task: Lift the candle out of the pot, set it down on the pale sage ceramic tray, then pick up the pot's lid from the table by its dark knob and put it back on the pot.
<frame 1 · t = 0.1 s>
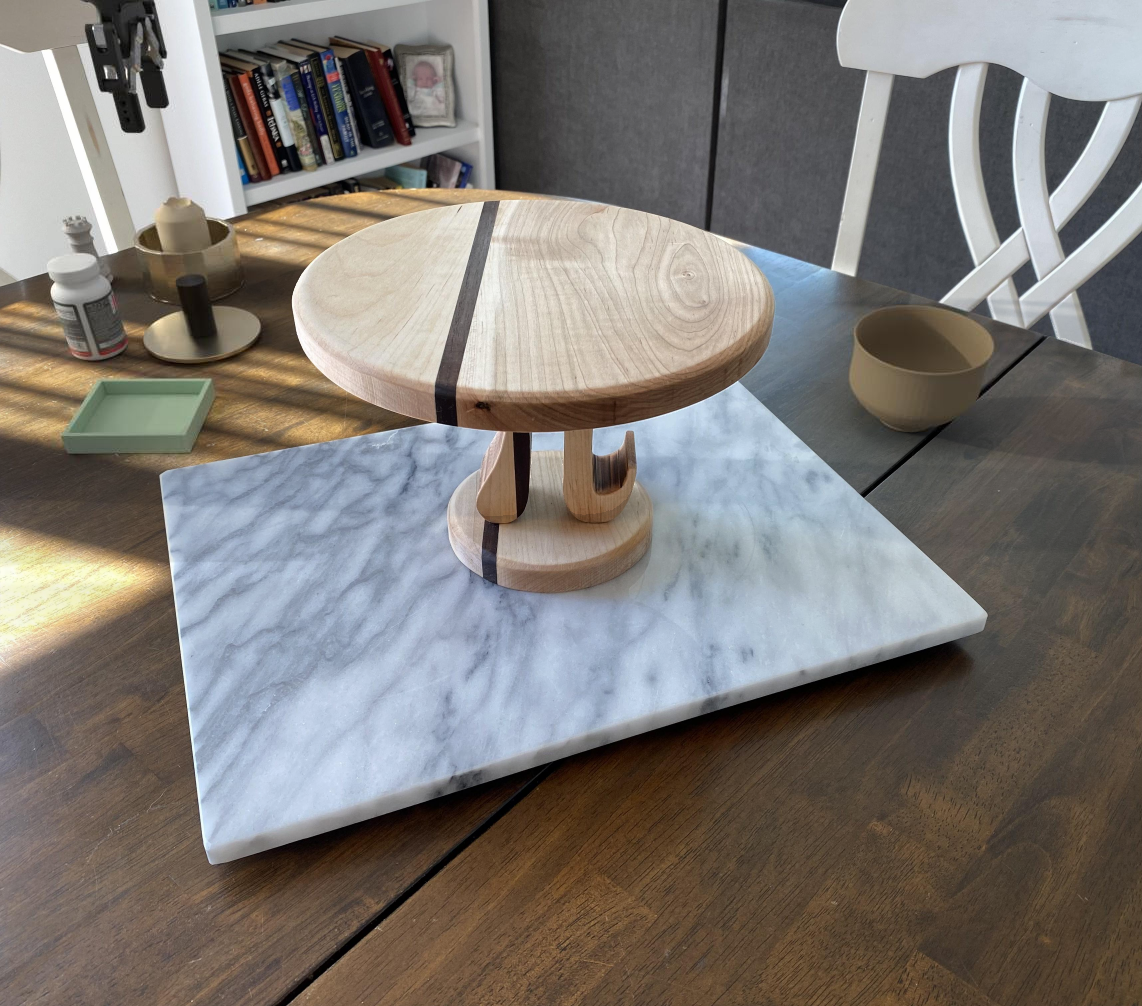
hand: (147, 119, 99), 20 cm above the table, tool pointing down, fingers open, 8 cm apart
pot: (196, 284, 113), on the table
rook chess piece: (95, 285, 113), on the table
bowl: (898, 423, 94), on the table
candle: (195, 283, 113), resting on pot
pill bottle: (101, 350, 101), on the table
lid: (203, 335, 102), point 1 cm above the table
tray: (145, 423, 90), on the table
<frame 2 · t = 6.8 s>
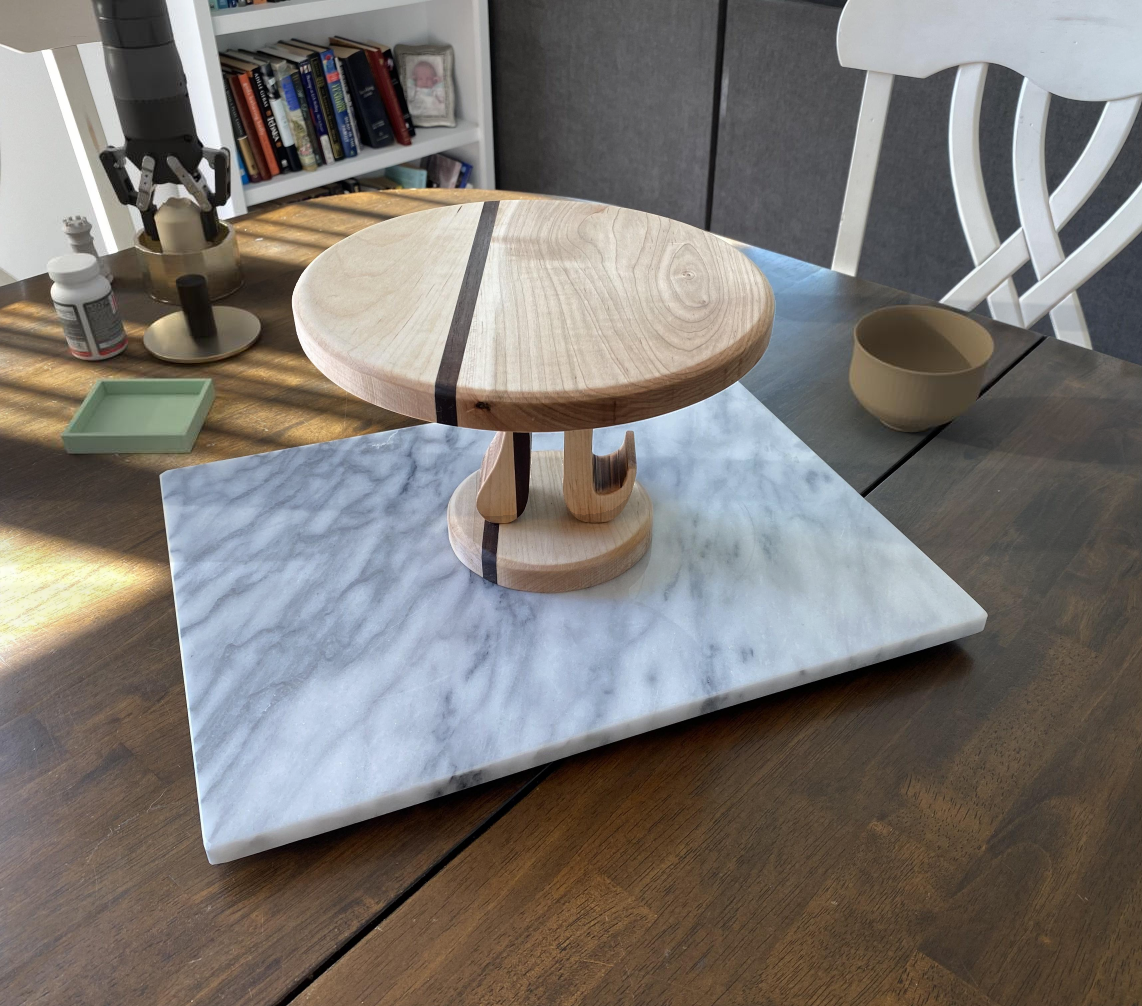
hand: (185, 238, 110), 6 cm above the table, tool pointing down, fingers closed on candle, 5 cm apart
candle: (195, 283, 113), resting on pot, touching gripper
everything else where it was.
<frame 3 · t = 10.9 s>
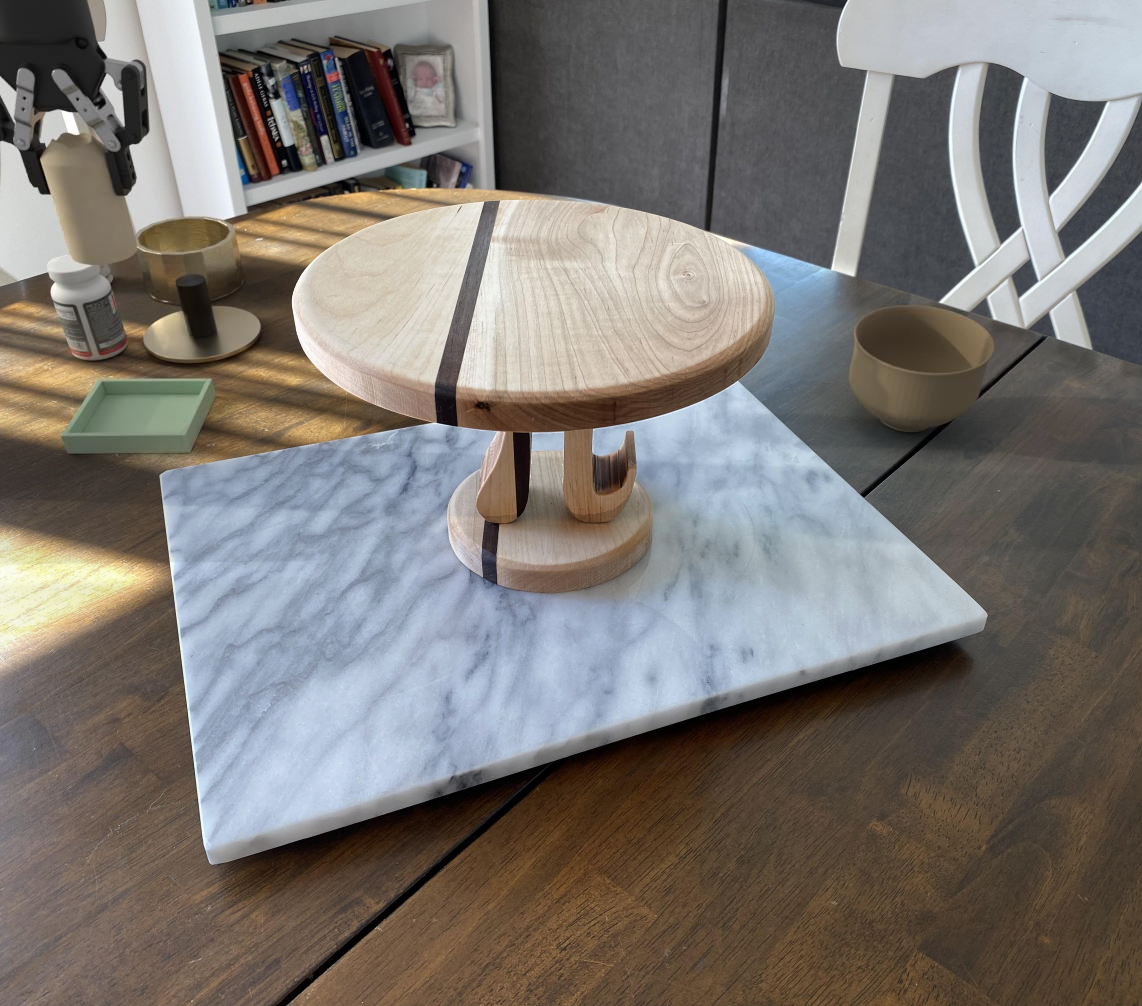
hand: (87, 191, 79), 21 cm above the table, tool pointing down, fingers closed on candle, 5 cm apart
candle: (105, 255, 83), point 16 cm above the table, touching gripper
everything else where it was.
when the fingers open (6 cm above the table, at t = 15.1 s): candle stays where it is, resting on tray.
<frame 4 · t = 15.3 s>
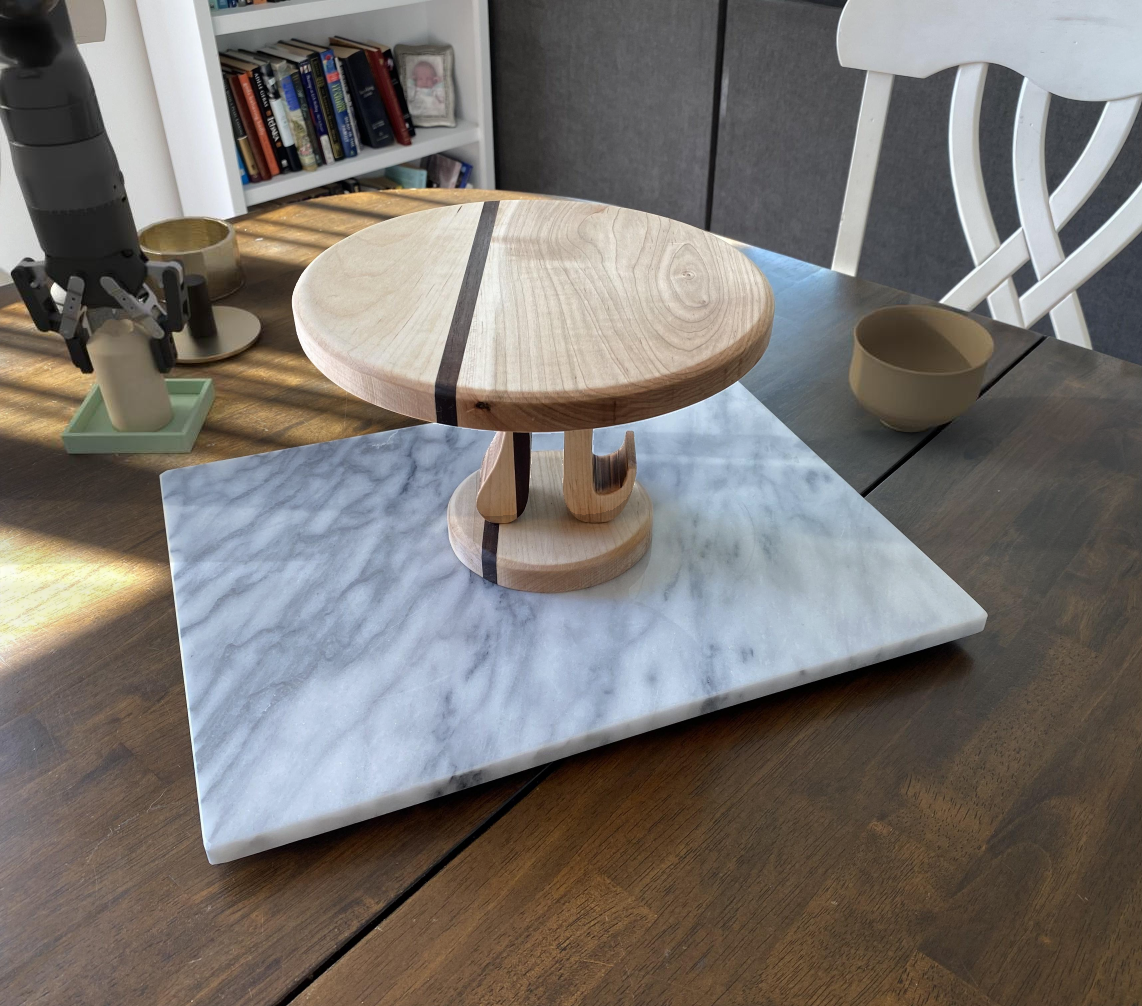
hand: (129, 369, 86), 6 cm above the table, tool pointing down, fingers open, 6 cm apart
candle: (144, 421, 89), resting on tray
everything else where it was.
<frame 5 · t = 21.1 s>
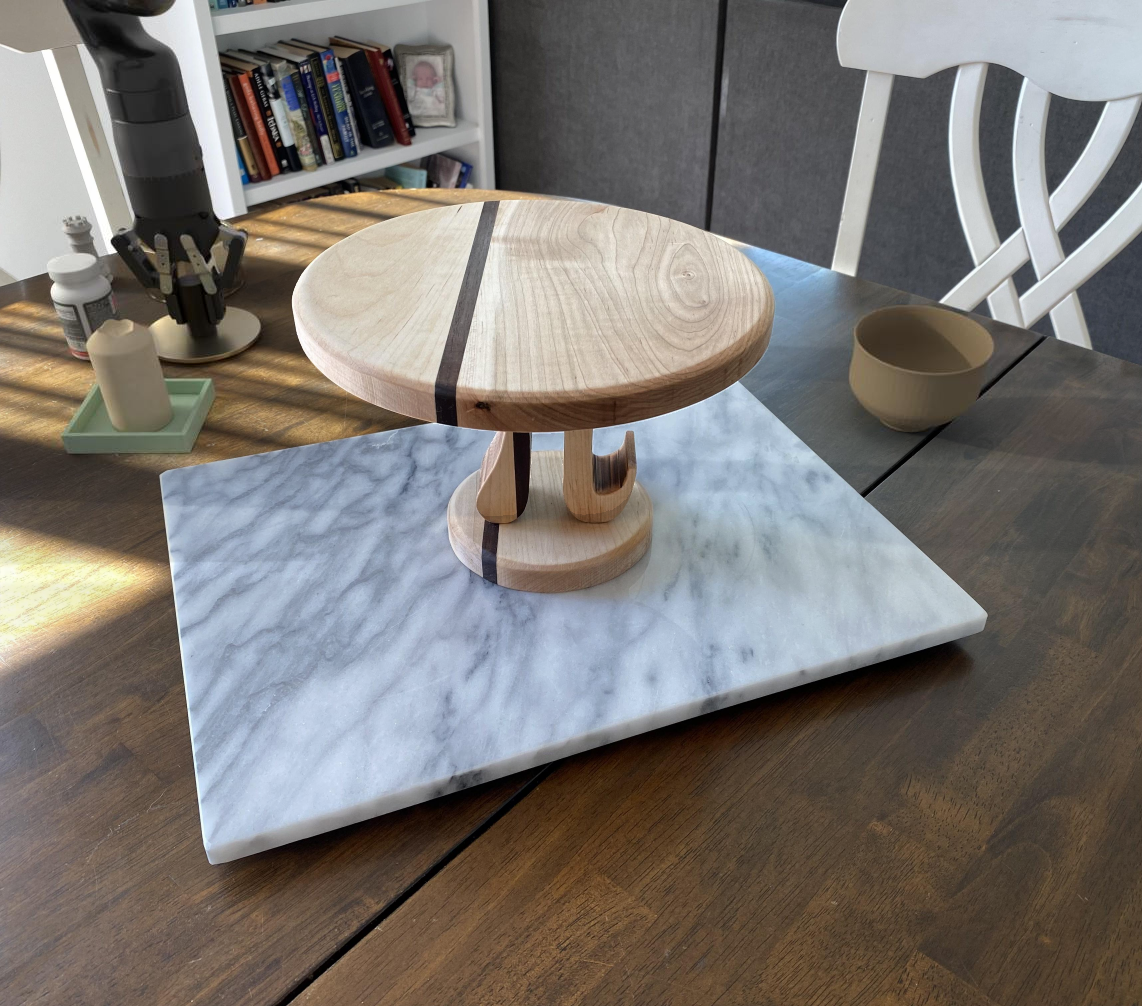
hand: (200, 320, 101), 2 cm above the table, tool pointing down, fingers closed on lid, 3 cm apart
lid: (203, 335, 102), point 1 cm above the table, touching gripper
everything else where it was.
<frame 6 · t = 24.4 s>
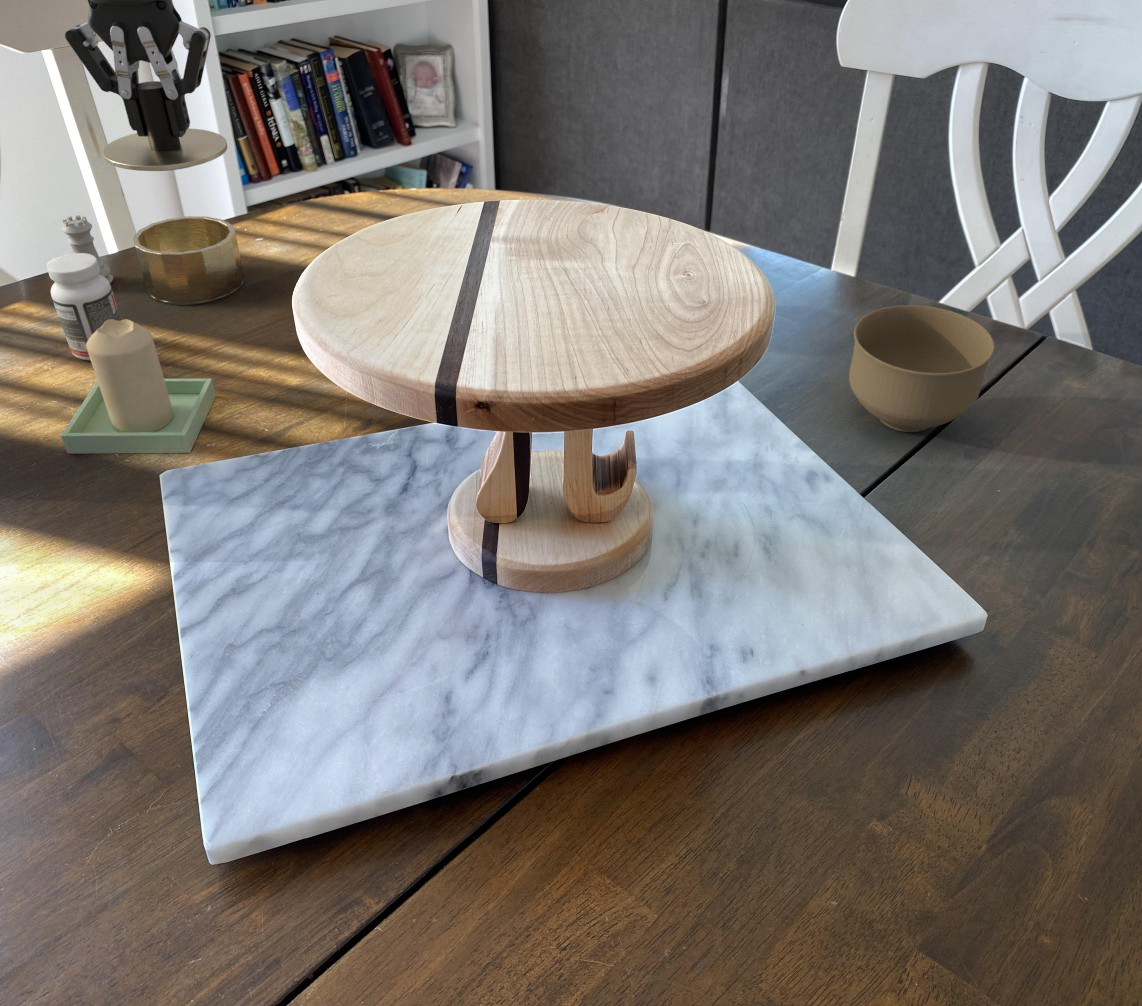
hand: (162, 133, 97), 20 cm above the table, tool pointing down, fingers closed on lid, 3 cm apart
lid: (166, 150, 98), point 18 cm above the table, touching gripper
everything else where it was.
when the fingers open (8 cm above the table, at t = 27.9 s): lid stays where it is, resting on pot.
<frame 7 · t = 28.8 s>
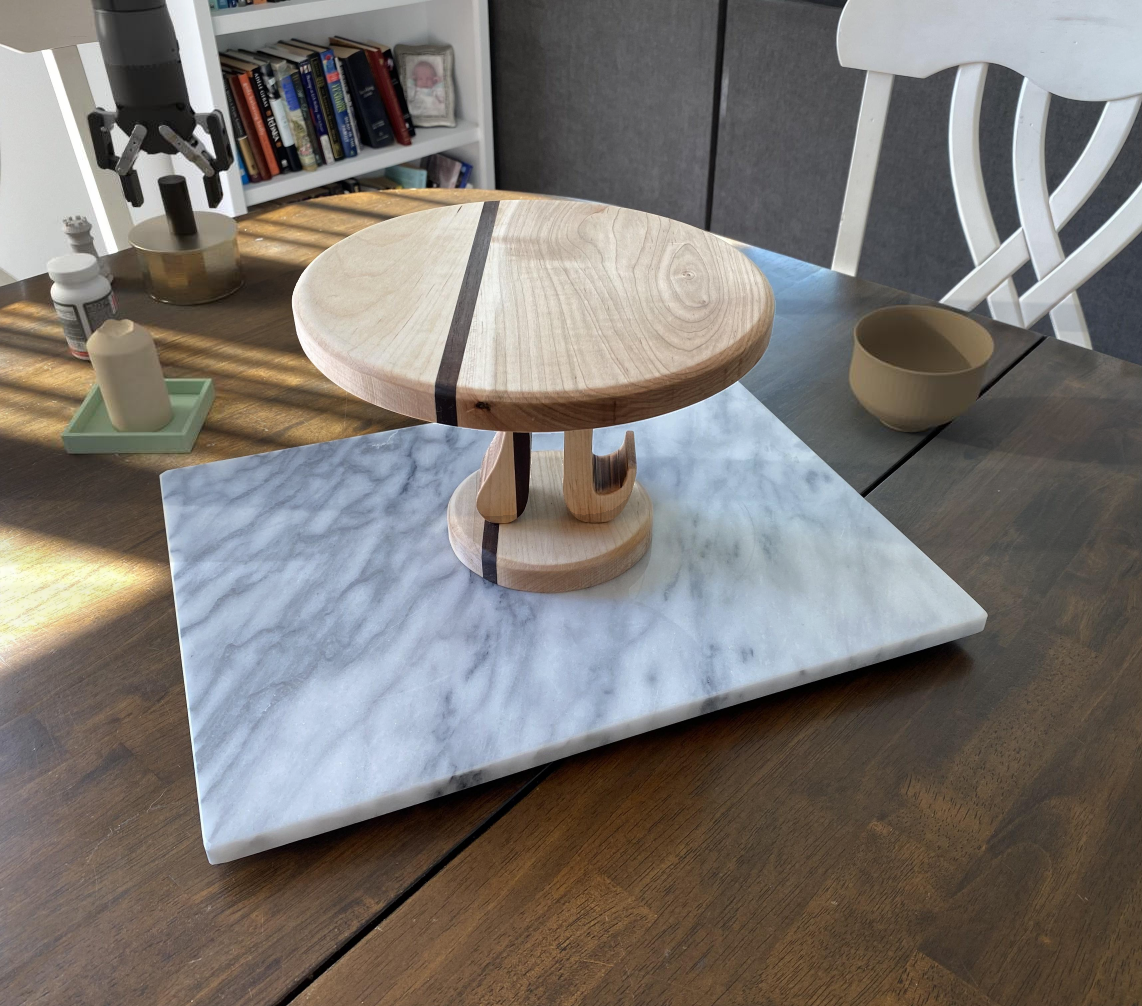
hand: (177, 205, 107), 10 cm above the table, tool pointing down, fingers open, 8 cm apart
lid: (184, 234, 109), point 6 cm above the table, touching pot
everything else where it was.
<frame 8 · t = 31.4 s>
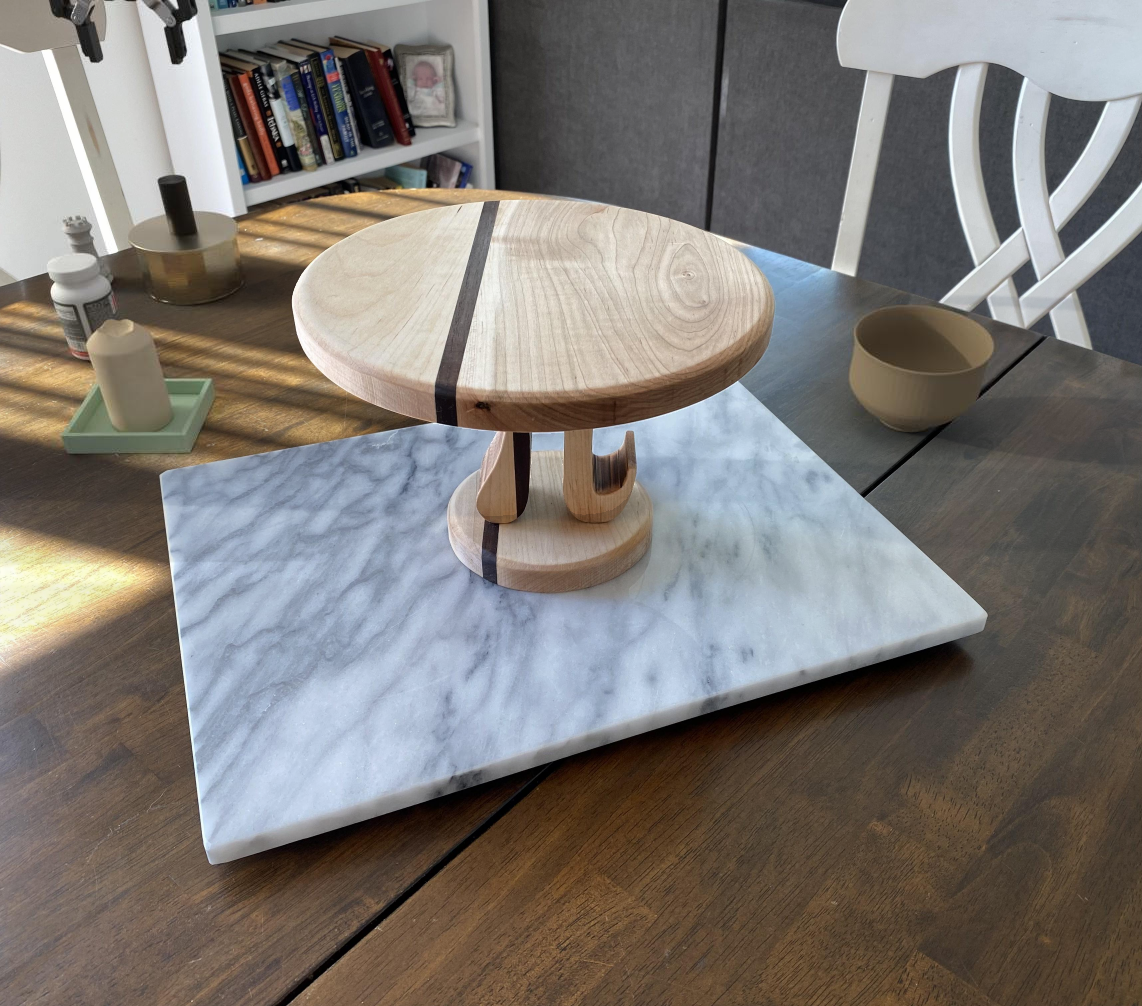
hand: (138, 62, 101), 24 cm above the table, tool pointing down, fingers open, 8 cm apart
nothing on the table moved.
at the end: candle inside the target area in the tray (0.1 cm from its centre), point 0.3 cm above the tray's base; candle tilted 0°; lid 0.0 cm off-centre on the pot, point 6.3 cm above the pot's base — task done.
